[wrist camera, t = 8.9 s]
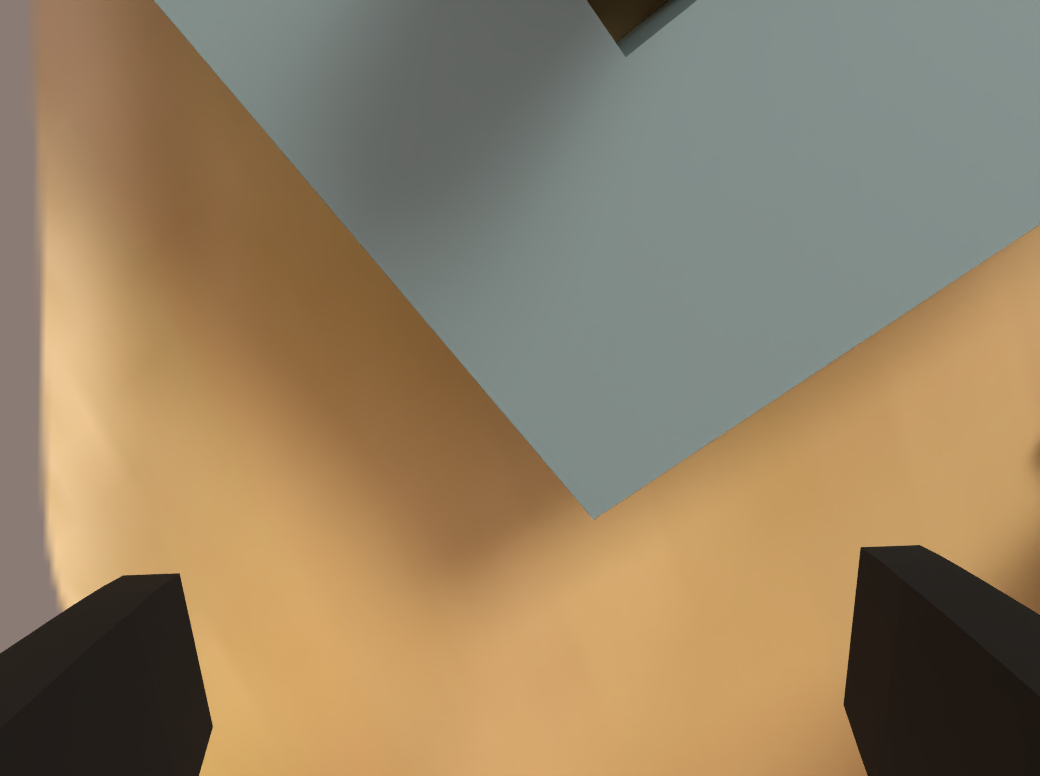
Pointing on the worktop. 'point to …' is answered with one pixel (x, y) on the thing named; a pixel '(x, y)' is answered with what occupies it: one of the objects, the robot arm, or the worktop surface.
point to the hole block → (648, 187)
